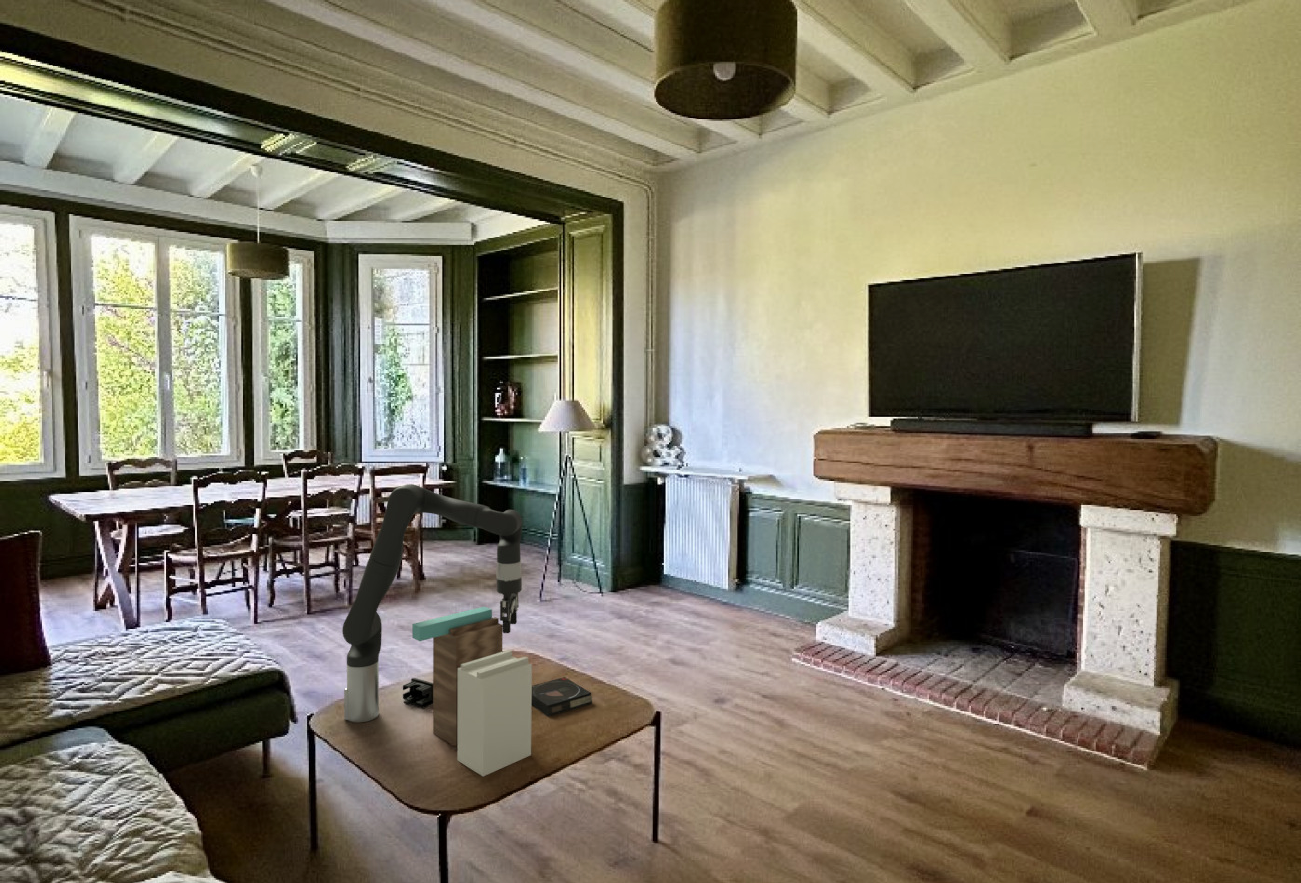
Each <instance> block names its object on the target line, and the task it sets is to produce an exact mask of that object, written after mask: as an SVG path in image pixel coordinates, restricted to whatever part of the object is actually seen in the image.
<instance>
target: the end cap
mask: <svg viewBox="0 0 1301 883" xmlns="http://www.w3.org/2000/svg"><path fill="white" fill-rule="evenodd" d="M407 689H409V690H408V691H406V692H403V693H402V699H403V703H404V704H405V703H406V704H405V705H410V706H413V707H415V708H419V709H422V710H423V709H427V707H430V706H433V682H430V681H426V680H423V679H420V678H416V677H412V678H411V679H410V682H408V683H405V684H403V685H402V691H405V690H407Z"/></svg>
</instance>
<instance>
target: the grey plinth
mask: <svg viewBox="0 0 1301 883" xmlns="http://www.w3.org/2000/svg"><path fill="white" fill-rule="evenodd" d="M532 670H533V664H531V663H529V657H528V656H521V657H519V658H517V657H515V656H513V651H512V650H511V649H507V650H502V652H500V653H497V654H493V655H490V656H487V657H483V658H480V659H477V660H474V661H470V662H467V663H464V664H461V667H460V668H458V746H457V751H456V753H457V757H456V758H457V760H456V761H458V762H459V763H461V764H463V765H464V766H466V767H467V768H468V769H470V770H472V771H473V772H475V773H477V774H478V775H479V776H481V777H485V776H487V775H490V774H492V773H494V772H496V771H498V770H500V769H501V770H502V769H503V768H505V767H507V766H510V765H512V764H514V763H516V762H519V761H521V760H524V759H525V758H527V757H530V756H532V705H531V699H532V686H533V684H532V683H533V681H532V678H533V676H532V674H533V673H532V672H533V671H532Z"/></svg>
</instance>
